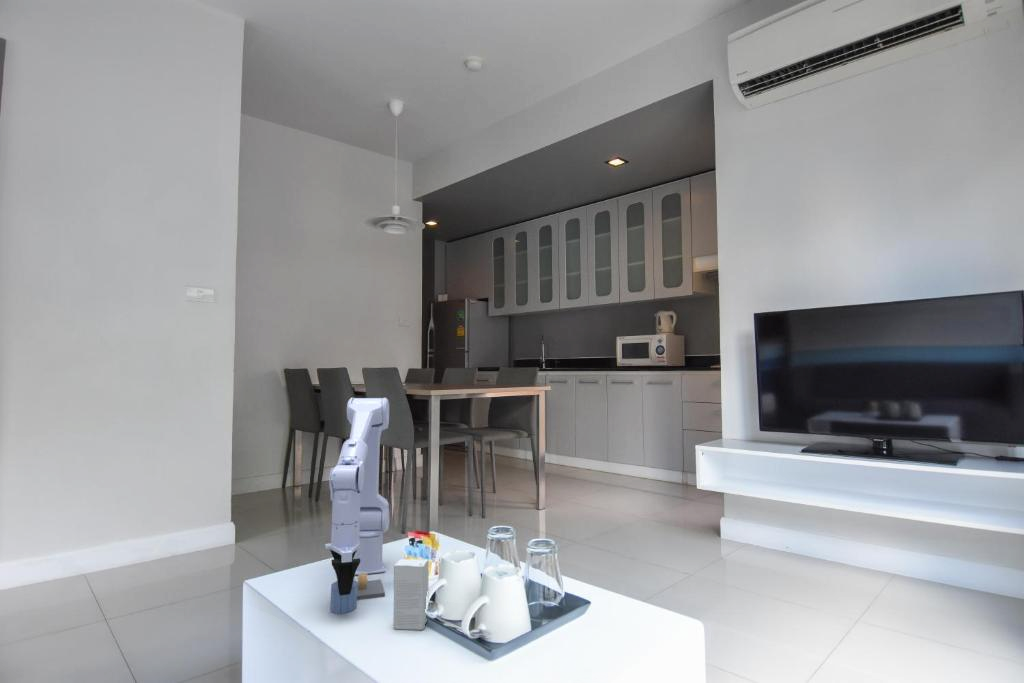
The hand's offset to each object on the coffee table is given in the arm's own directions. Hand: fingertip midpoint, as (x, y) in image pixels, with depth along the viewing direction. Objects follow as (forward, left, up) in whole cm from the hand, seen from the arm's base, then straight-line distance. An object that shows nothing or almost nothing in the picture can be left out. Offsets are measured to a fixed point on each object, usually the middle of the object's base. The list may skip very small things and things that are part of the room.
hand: (343, 588), depth 115 cm
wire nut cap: (0, 0, -4) cm, 4 cm away
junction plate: (-9, +5, -4) cm, 11 cm away
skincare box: (+13, +12, -4) cm, 18 cm away
